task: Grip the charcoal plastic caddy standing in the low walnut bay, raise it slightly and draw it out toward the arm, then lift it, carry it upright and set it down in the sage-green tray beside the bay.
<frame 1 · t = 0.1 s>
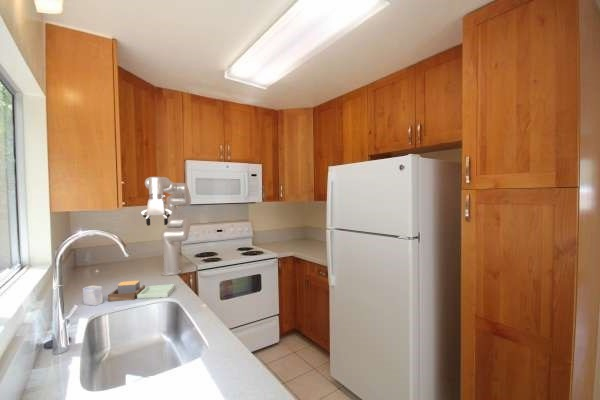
hand: (157, 225, 166), 37 cm above the counter, tool pointing down, fingers open, 9 cm apart
bay: (127, 296, 149), on the counter
tray: (157, 293, 152), on the counter
caddy: (129, 295, 151), on the counter
medicine box: (93, 304, 140), on the counter
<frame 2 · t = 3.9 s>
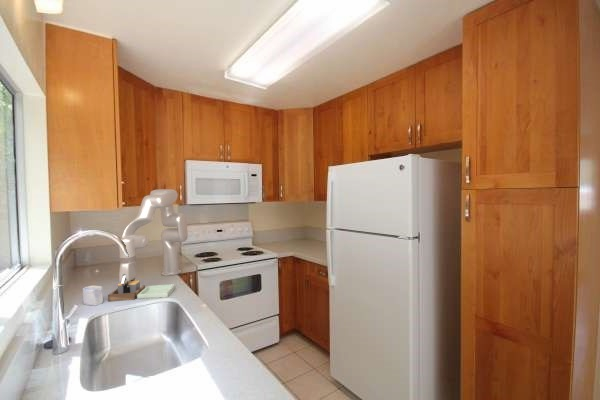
hand: (129, 292, 151), 1 cm above the counter, tool pointing down, fingers closed on caddy, 5 cm apart
caddy: (129, 294, 151), on the counter, touching gripper
everything else where it was.
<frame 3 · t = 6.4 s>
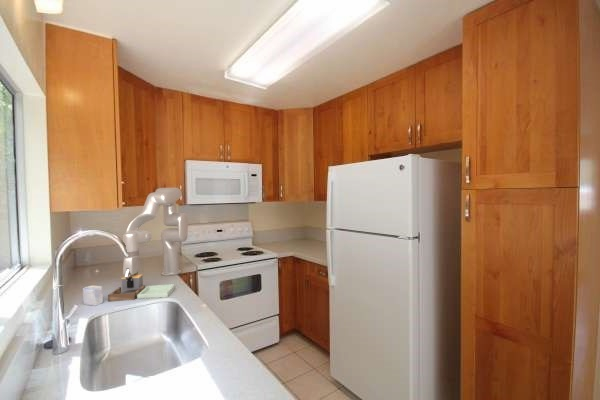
hand: (132, 285, 155), 4 cm above the counter, tool pointing down, fingers closed on caddy, 5 cm apart
caddy: (132, 288, 155), point 2 cm above the counter, touching gripper
everything else where it was.
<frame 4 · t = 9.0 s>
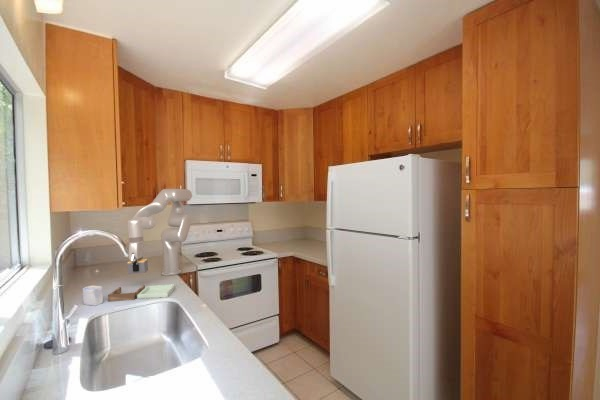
hand: (138, 269, 162), 11 cm above the counter, tool pointing down, fingers closed on caddy, 5 cm apart
caddy: (138, 272, 162), point 9 cm above the counter, touching gripper
everything else where it was.
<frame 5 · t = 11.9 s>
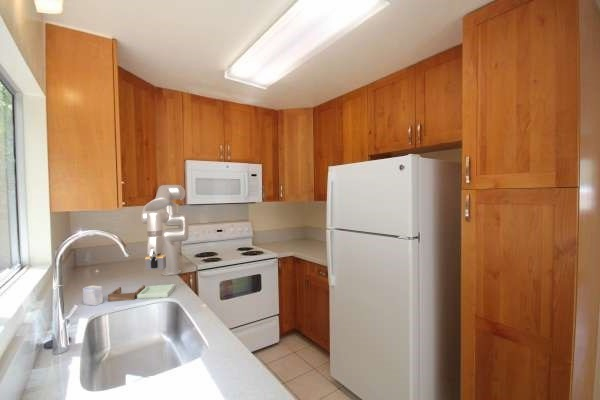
hand: (156, 266, 151), 16 cm above the counter, tool pointing down, fingers closed on caddy, 5 cm apart
caddy: (156, 268, 151), point 14 cm above the counter, touching gripper
everything else where it was.
when the fingers open (4 cm above the counter, at t = 14.3 s): caddy drops 1 cm, resting on tray.
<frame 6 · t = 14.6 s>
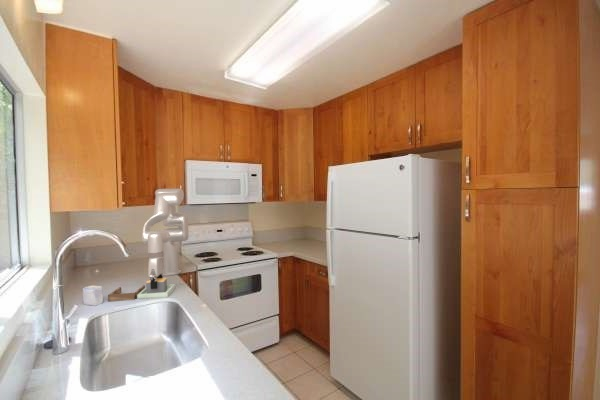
hand: (157, 285, 152), 4 cm above the counter, tool pointing down, fingers open, 8 cm apart
caddy: (157, 292, 152), point 1 cm above the counter, touching tray
everything else where it was.
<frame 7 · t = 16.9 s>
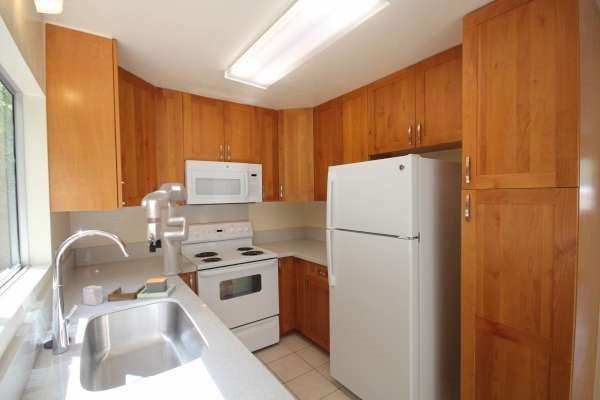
hand: (155, 250, 158), 23 cm above the counter, tool pointing down, fingers open, 9 cm apart
nothing on the counter moved.
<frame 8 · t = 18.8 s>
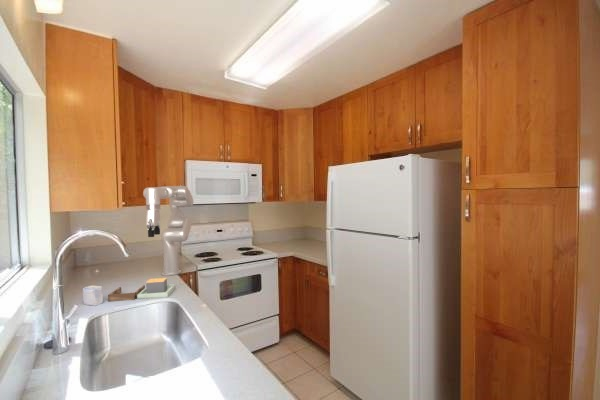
hand: (154, 235, 166), 30 cm above the counter, tool pointing down, fingers open, 9 cm apart
nothing on the counter moved.
at the end: caddy inside the target area on the tray (0.1 cm from its centre), point 0.8 cm above the tray's base; caddy tilted 0°; the gripper is holding nothing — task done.
